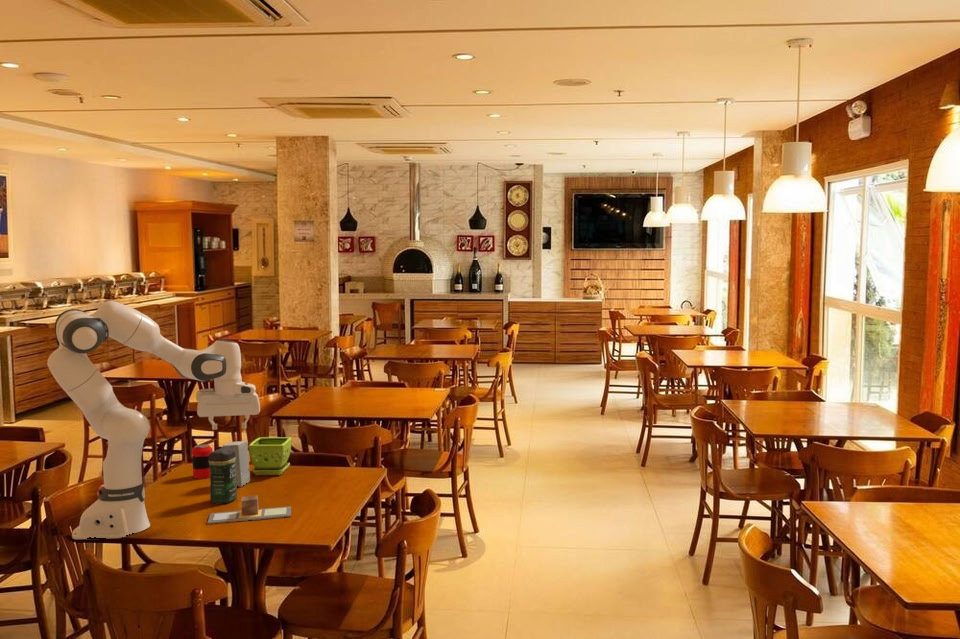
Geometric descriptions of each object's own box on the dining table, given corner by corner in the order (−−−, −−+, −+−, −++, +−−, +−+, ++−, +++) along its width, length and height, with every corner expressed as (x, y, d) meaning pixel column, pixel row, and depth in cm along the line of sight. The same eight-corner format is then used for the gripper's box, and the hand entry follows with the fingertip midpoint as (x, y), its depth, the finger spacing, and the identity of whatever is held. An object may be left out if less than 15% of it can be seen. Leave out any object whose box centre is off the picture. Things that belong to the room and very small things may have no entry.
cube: (242, 515, 274) (241, 500, 274) (243, 511, 279) (242, 496, 279) (257, 514, 275) (257, 499, 275) (258, 510, 280) (257, 495, 280)
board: (207, 524, 269) (207, 522, 269) (210, 515, 278) (210, 512, 278) (290, 517, 274) (290, 514, 274) (291, 508, 284) (291, 505, 284)
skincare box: (241, 487, 311) (239, 445, 310) (223, 487, 312) (221, 445, 311) (251, 481, 319) (249, 440, 318) (233, 481, 320) (231, 440, 319)
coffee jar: (228, 505, 289) (226, 451, 288) (207, 504, 290) (204, 451, 289) (241, 496, 299) (238, 445, 297) (220, 496, 300) (217, 445, 299)
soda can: (189, 478, 326) (187, 447, 326) (202, 473, 333) (200, 443, 332) (204, 479, 324) (202, 448, 323) (217, 474, 330) (216, 444, 330)
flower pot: (248, 477, 325) (247, 445, 324) (259, 468, 339) (258, 437, 338) (284, 476, 325) (283, 444, 324) (294, 467, 339) (292, 436, 338)
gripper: (194, 390, 276) (195, 432, 277) (258, 388, 280) (259, 429, 281) (197, 387, 282) (198, 428, 283) (260, 385, 286) (261, 425, 287)
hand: (229, 428), depth 282 cm, fingers open, 8 cm apart
